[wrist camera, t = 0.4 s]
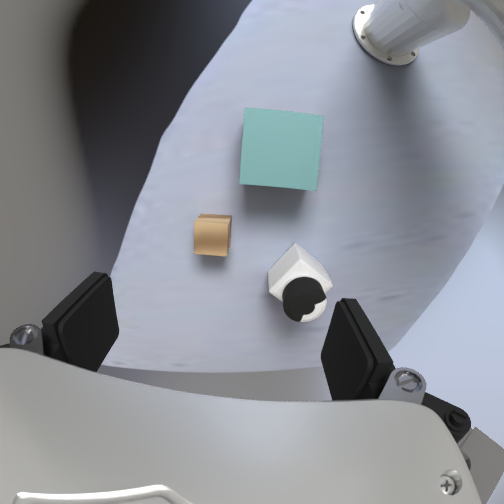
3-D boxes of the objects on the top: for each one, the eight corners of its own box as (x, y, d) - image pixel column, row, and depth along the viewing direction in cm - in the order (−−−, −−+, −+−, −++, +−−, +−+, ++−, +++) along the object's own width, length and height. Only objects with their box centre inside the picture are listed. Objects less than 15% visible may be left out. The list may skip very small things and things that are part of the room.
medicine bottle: (267, 271, 48) (268, 310, 37) (294, 241, 46) (305, 273, 35) (297, 294, 49) (305, 336, 38) (324, 266, 47) (342, 303, 36)
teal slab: (246, 111, 35) (244, 107, 31) (317, 118, 35) (323, 116, 31) (241, 180, 39) (239, 183, 35) (310, 186, 39) (316, 190, 35)
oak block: (201, 213, 44) (194, 222, 40) (231, 215, 44) (228, 224, 40) (200, 242, 46) (194, 253, 42) (230, 244, 46) (226, 256, 42)
